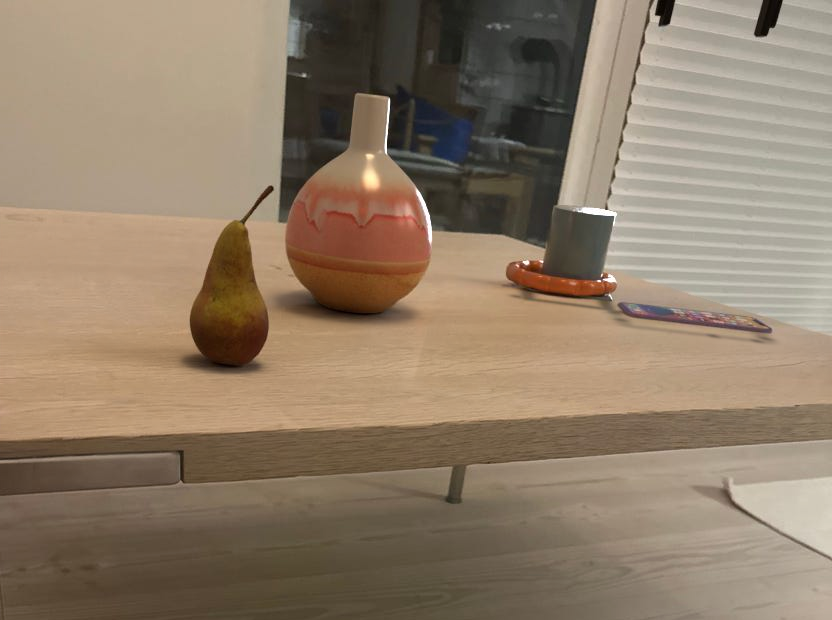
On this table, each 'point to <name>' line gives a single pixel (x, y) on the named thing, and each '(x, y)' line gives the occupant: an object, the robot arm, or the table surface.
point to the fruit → (231, 300)
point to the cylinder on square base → (577, 245)
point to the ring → (557, 280)
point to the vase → (360, 222)
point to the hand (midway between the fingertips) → (711, 31)
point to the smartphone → (694, 317)
